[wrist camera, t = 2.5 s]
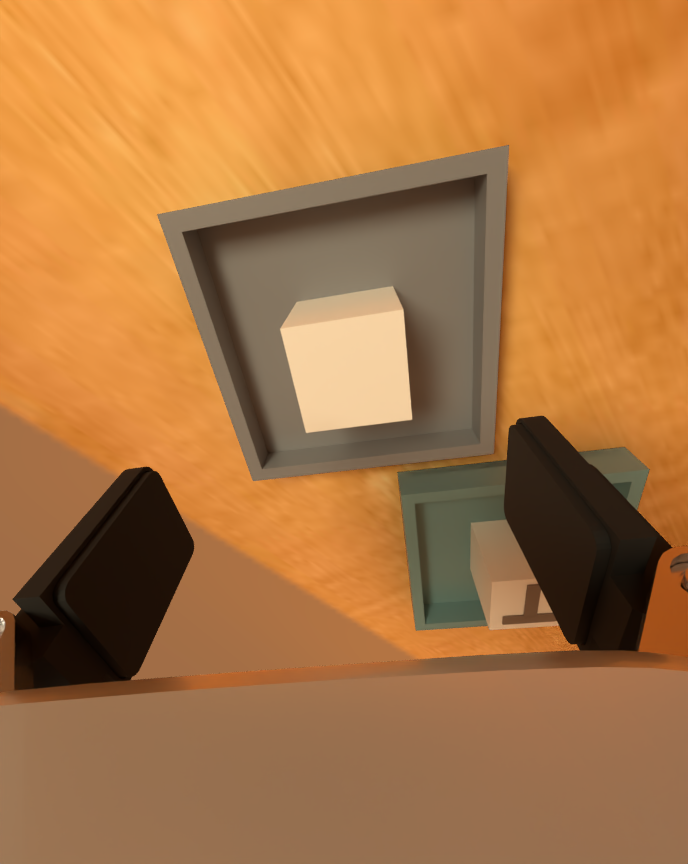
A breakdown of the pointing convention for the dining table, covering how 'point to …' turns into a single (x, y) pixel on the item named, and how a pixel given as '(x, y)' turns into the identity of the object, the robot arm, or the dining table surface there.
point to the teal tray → (451, 529)
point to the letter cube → (506, 579)
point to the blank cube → (349, 359)
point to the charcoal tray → (347, 273)
